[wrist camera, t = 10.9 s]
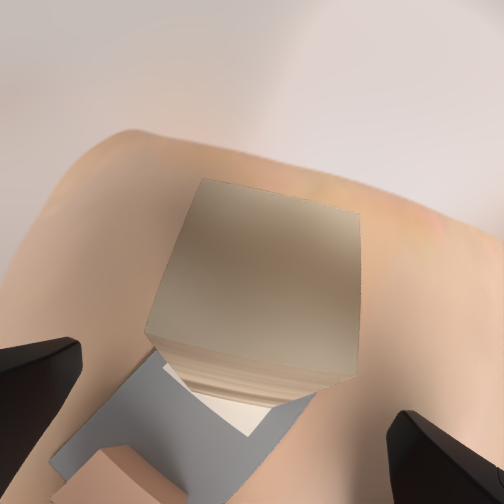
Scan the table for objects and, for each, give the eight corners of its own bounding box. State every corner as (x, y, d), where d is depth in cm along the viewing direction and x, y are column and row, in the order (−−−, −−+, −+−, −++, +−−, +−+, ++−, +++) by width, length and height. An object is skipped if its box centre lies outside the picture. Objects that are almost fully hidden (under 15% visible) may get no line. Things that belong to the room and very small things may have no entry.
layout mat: (340, 355, 20) (342, 353, 20) (160, 559, 11) (159, 561, 10) (230, 275, 23) (230, 271, 22) (51, 461, 13) (47, 461, 13)
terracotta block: (189, 495, 14) (179, 517, 9) (143, 537, 11) (122, 564, 7) (128, 444, 15) (100, 449, 11) (85, 486, 13) (49, 498, 8)
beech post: (269, 408, 17) (356, 376, 6) (191, 391, 17) (143, 332, 6) (282, 336, 20) (359, 213, 9) (209, 321, 20) (202, 178, 9)
